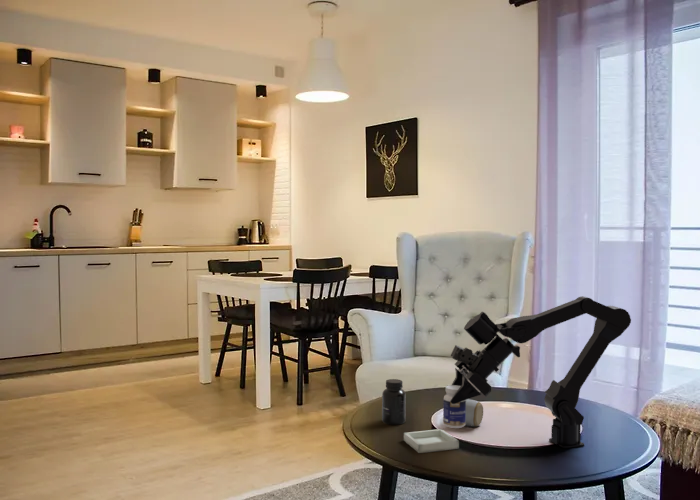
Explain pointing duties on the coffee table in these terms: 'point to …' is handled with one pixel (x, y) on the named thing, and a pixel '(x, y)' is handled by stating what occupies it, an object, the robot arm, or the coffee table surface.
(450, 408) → the pill bottle
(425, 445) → the tray
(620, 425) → the coffee table surface
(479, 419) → the ceramic mug
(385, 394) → the supplement bottle
